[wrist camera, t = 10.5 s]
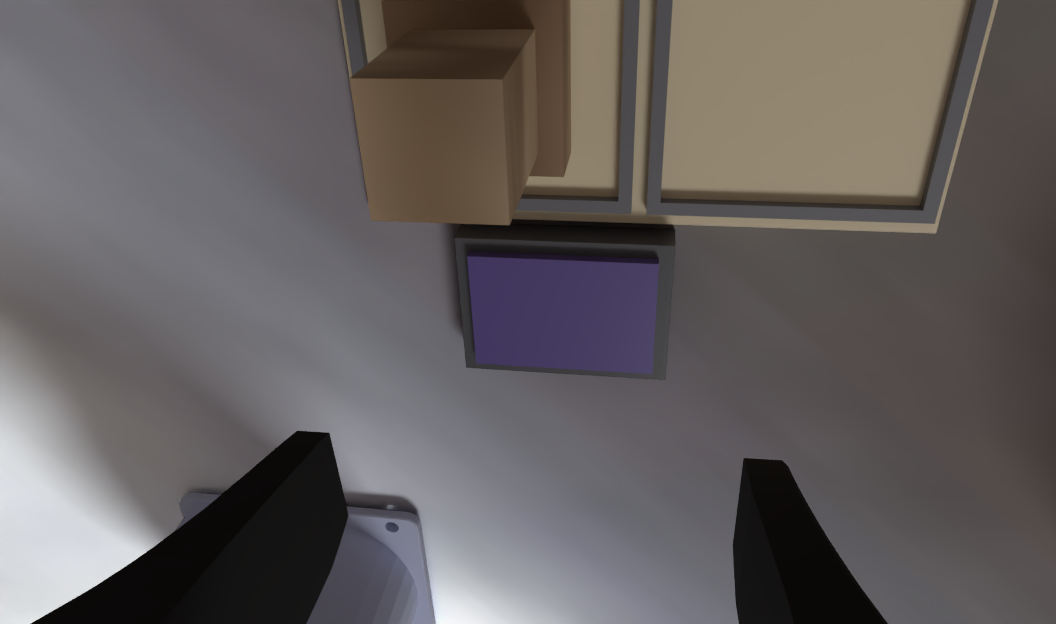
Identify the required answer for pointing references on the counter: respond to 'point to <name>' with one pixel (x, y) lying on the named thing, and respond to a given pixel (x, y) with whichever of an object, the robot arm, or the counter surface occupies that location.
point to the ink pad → (566, 298)
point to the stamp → (464, 108)
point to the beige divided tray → (754, 110)
